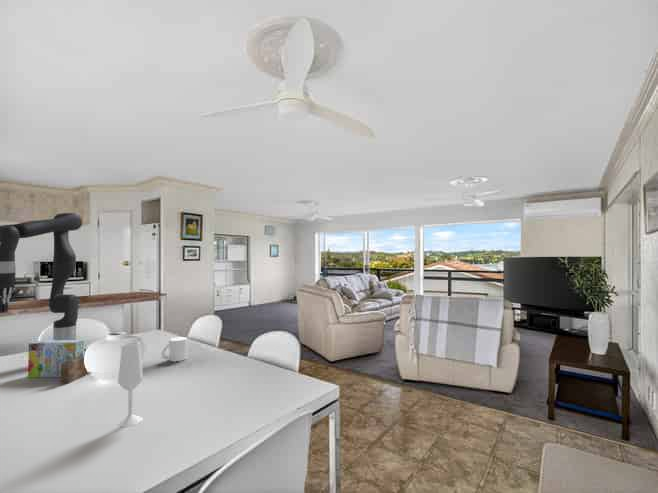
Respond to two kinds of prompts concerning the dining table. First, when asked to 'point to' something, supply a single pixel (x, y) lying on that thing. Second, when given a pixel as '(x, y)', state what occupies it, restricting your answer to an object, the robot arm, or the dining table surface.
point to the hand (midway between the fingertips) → (3, 312)
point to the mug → (176, 349)
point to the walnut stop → (73, 369)
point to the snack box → (51, 356)
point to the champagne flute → (130, 378)
